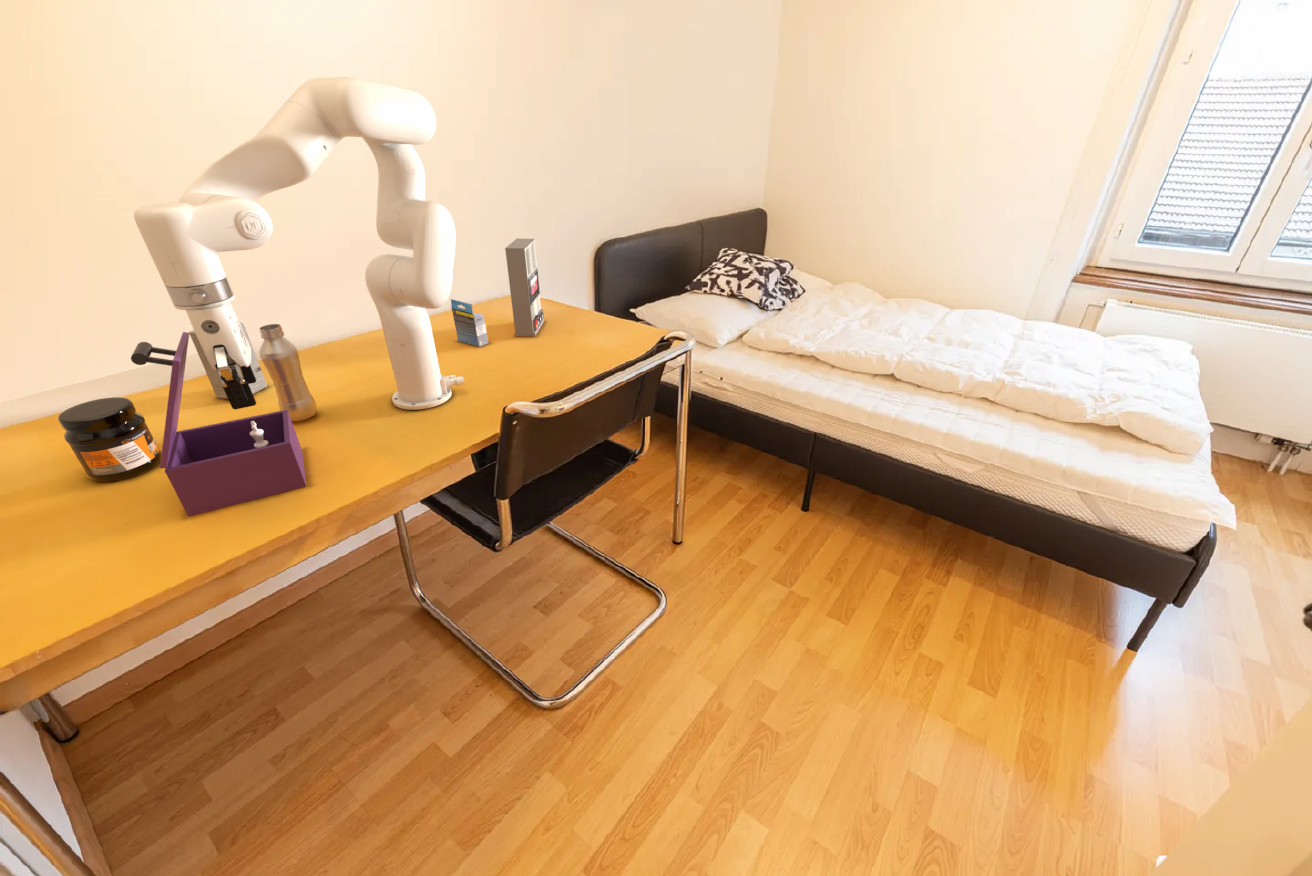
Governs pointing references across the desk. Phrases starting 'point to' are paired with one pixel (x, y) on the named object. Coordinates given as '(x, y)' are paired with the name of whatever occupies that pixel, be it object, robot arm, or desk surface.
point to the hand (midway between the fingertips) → (245, 394)
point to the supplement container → (110, 439)
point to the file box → (235, 463)
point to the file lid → (175, 390)
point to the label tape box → (469, 324)
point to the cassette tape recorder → (524, 287)
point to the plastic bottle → (286, 373)
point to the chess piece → (258, 436)
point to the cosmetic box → (214, 375)
